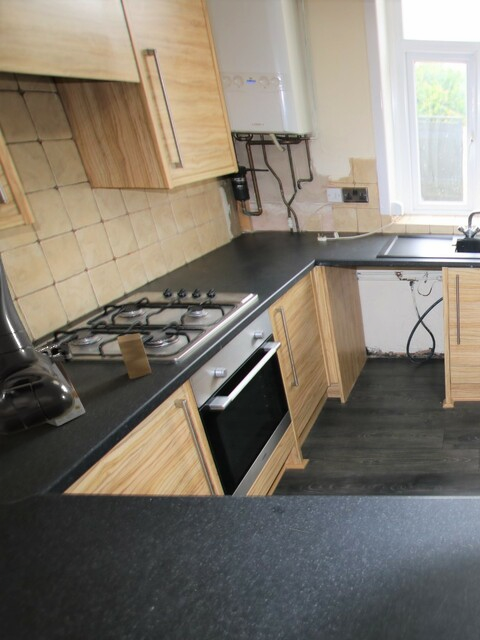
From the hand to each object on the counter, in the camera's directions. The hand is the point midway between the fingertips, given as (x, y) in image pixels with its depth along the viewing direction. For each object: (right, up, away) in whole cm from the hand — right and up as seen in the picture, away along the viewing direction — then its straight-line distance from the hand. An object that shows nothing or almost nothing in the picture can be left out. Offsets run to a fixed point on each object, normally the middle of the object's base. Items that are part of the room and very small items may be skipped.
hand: (22, 351), depth 98 cm
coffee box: (-7, -16, +16) cm, 24 cm away
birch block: (-3, -8, +35) cm, 36 cm away
